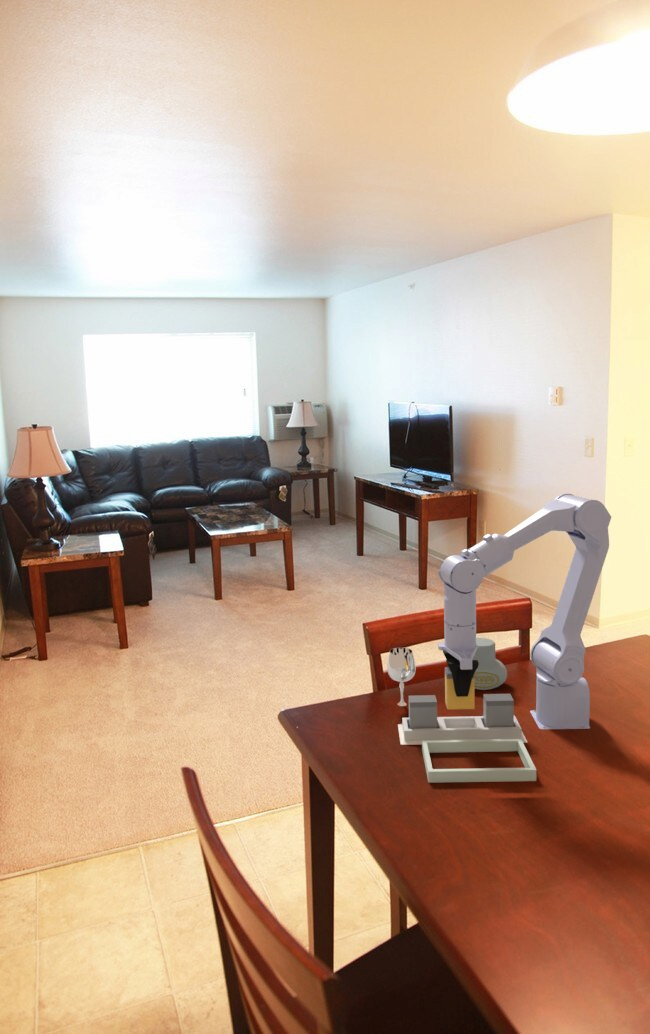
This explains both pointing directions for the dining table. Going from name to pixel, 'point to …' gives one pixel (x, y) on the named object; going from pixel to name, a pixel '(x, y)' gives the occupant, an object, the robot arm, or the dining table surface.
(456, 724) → the fuse holder
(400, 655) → the wineglass
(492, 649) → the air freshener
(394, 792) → the dining table surface
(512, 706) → the block
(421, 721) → the block
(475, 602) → the robot arm
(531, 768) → the tray
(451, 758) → the dining table surface
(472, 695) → the block
